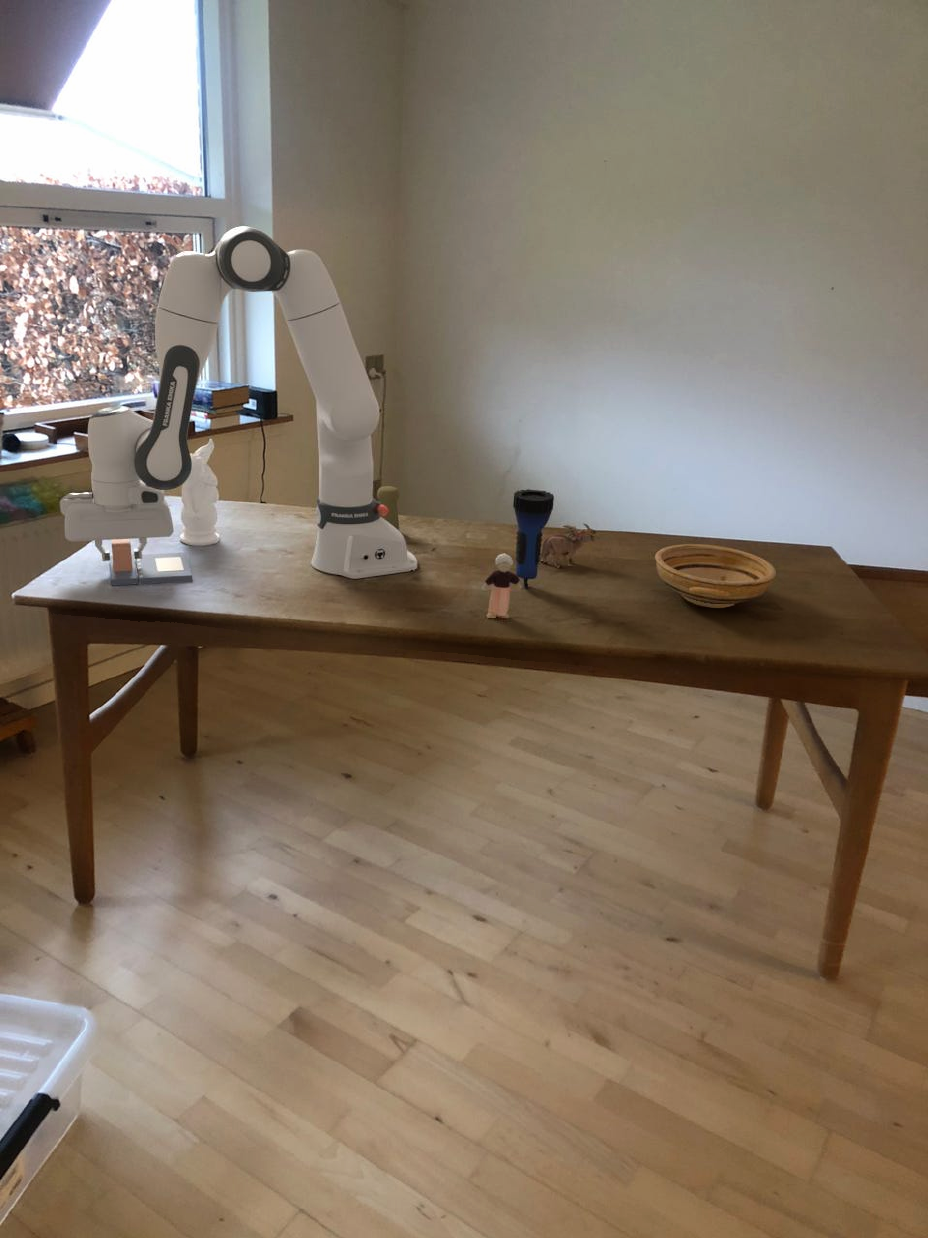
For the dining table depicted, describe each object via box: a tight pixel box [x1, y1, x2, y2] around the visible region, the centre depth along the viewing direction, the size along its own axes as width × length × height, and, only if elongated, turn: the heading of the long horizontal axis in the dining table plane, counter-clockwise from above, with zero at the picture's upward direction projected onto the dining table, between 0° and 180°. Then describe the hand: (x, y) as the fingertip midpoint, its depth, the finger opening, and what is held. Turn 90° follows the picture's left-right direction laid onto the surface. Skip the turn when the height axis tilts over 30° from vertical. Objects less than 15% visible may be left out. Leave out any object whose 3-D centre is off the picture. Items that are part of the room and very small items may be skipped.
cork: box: [376, 485, 400, 530], centre depth 224 cm, size 6×6×11 cm
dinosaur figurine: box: [539, 523, 597, 566], centre depth 211 cm, size 14×6×9 cm, turn 116°
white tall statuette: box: [179, 438, 221, 547], centre depth 210 cm, size 12×12×22 cm
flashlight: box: [512, 488, 555, 589], centre depth 193 cm, size 8×8×20 cm
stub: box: [109, 539, 138, 586], centre depth 190 cm, size 5×14×6 cm, turn 20°
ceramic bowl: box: [654, 543, 777, 604], centre depth 197 cm, size 30×24×8 cm
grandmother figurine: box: [480, 553, 522, 619], centre depth 180 cm, size 8×4×13 cm, turn 114°
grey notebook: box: [135, 552, 193, 585], centre depth 194 cm, size 10×14×1 cm
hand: (122, 559), depth 190 cm, fingers open, 5 cm apart
